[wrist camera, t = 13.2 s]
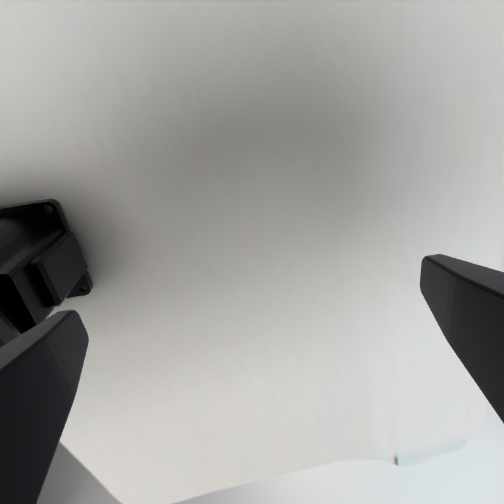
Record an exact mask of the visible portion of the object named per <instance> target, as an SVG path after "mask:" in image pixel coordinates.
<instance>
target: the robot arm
mask: <svg viewBox="0 0 504 504" xmlns="http://www.w3.org/2000/svg"><path fill="white" fill-rule="evenodd" d="M47 206H50V207H52V209H53V211H49V210H48V208H47ZM86 269H87V265H86V262H85V260H84V257H83V255H82V252H81V250H80V248H79V245H78V243H77V240H76V238H75V235H74V233H72V232H71V231H70V229H69V227H68V225H67V222H66V220H65V217H64V215H63V212H62V210H61V208H60V206H59V204H58V203H57V202H56V201H54V200H51V199H48V200H41V201H35V202H29V203H22V204H16V205H10V206H3V207H0V504H37V500H38V498H39V495H40V493H41V490H42V487H43V484H44V482H45V479H46V476H47V473H48V471H49V468H50V465H51V462H52V459H53V457H54V454H55V451H56V449H57V446H58V443H59V440H60V437H61V435H62V432H63V429H64V426H65V424H66V421H67V418H68V415H69V413H70V410H71V407H72V404H73V401H74V398H75V395H76V392H77V388H78V384H79V380H80V376H81V372H82V368H83V363H84V359H85V355H86V351H87V347H88V342H89V339H88V334H87V331H86V329H85V327H84V325H83V323H82V320H81V318H80V316H79V314H78V313H77V311H75V310H67V311H60V312H57V313H56V314H54V315H52V316H51V317H49V318H47V317H48V316H49V314H50V313H51V312H52V310H53V309H54V308H55V307H57V306H60V305H61V304H62V302H63V301H64V300H65V298H70V297H76V296H83V295H87V294H89V293H90V291H91V290H92V287H93V286H92V283H91V280H90V278H89V275H88V273H87V270H86ZM81 285H82V286H85V287H86V288H87V289H84V288H82V287H81ZM420 289H421V292H422V295H423V296H424V298H425V300H426V302H427V304H428V306H429V308H430V310H431V312H432V313H433V315H434V317H435V319H436V321H437V323H438V325H439V327H440V329H441V330H442V332H443V334H444V336H445V338H446V339H447V341H448V343H449V344H450V346H451V347H452V349H453V350H454V352H455V353H456V355H457V356H458V358H459V359H460V360H461V362H462V363H463V365H464V366H465V368H466V369H467V371H468V372H469V374H470V375H471V376H472V378H473V379H474V381H475V382H476V384H477V385H478V387H479V388H480V390H481V391H482V392H483V394H484V395H485V397H486V398H487V400H488V401H489V403H490V404H491V405H492V407H493V408H494V410H495V411H496V413H497V414H498V416H499V417H500V418H501V420H502V421H503V423H504V272H500V271H497V270H494V269H490V268H487V267H483V266H480V265H476V264H473V263H470V262H466V261H463V260H459V259H456V258H453V257H449V256H446V255H442V254H436V255H430V256H425V257H424V258H423V260H422V264H421V276H420ZM46 318H47V319H46Z"/></svg>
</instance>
